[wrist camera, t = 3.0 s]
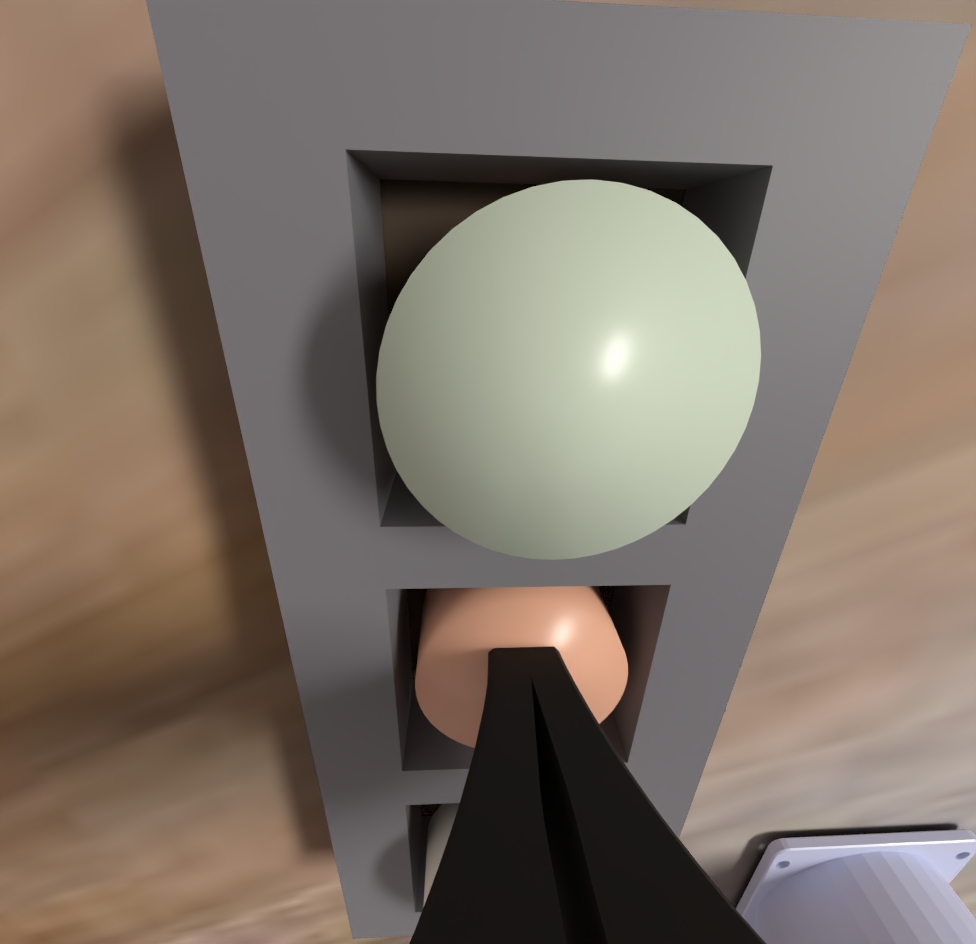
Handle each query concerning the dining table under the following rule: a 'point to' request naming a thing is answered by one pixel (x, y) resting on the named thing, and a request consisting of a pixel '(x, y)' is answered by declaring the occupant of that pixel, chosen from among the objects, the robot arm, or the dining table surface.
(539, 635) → the terracotta button
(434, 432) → the sage button
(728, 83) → the button board
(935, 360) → the dining table surface
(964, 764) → the dining table surface
